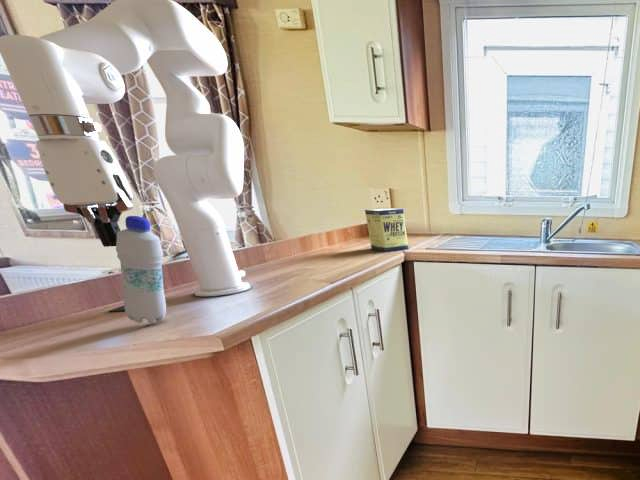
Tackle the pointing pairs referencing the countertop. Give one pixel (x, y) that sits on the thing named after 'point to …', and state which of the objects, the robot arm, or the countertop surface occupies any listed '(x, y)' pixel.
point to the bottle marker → (118, 309)
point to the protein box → (387, 229)
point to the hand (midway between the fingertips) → (114, 245)
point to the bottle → (141, 271)
